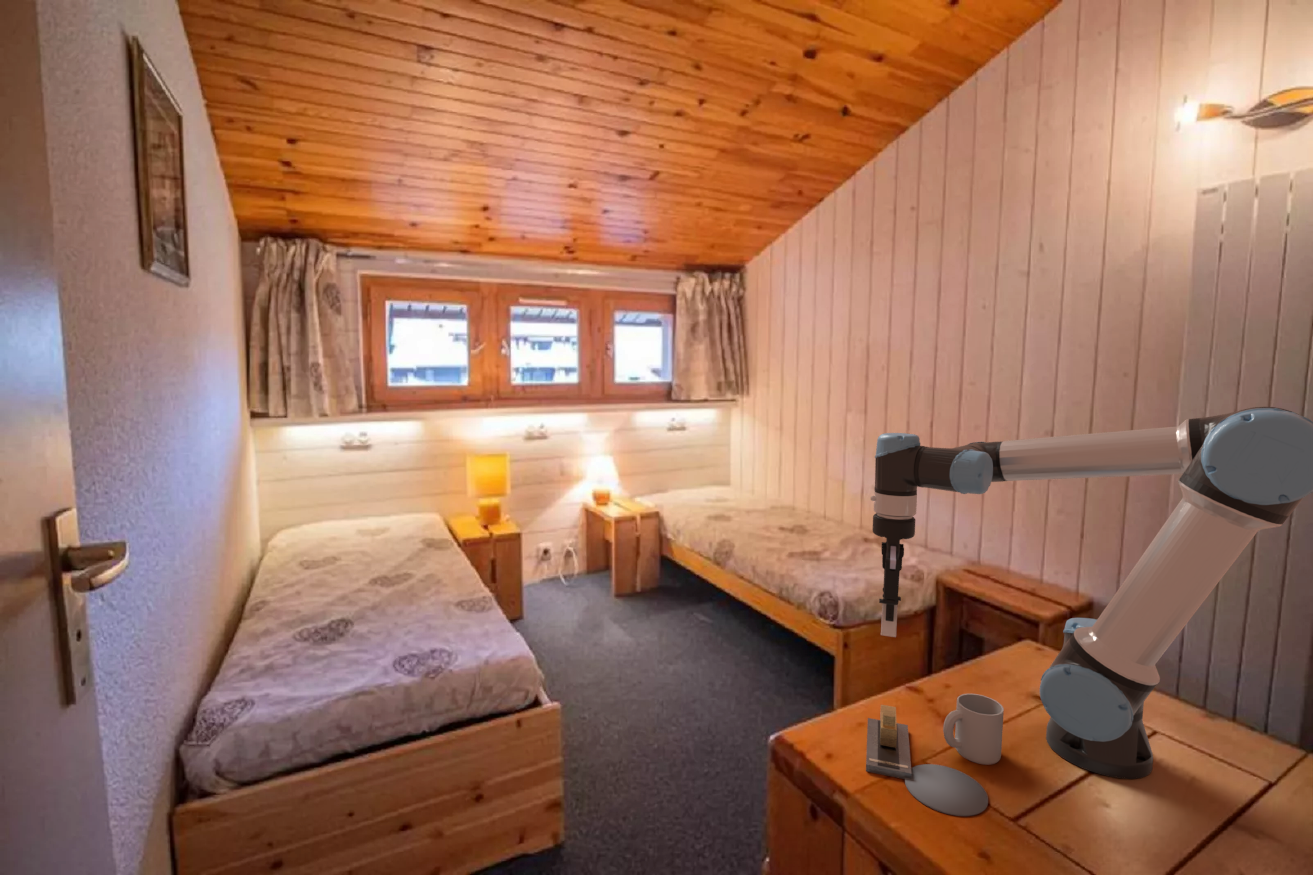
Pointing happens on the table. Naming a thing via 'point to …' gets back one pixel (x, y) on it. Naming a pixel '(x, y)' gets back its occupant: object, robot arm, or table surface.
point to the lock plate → (888, 752)
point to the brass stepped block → (888, 726)
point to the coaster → (947, 790)
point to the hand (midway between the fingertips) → (888, 634)
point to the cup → (976, 728)
